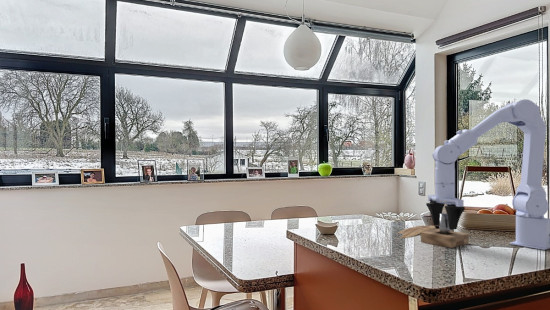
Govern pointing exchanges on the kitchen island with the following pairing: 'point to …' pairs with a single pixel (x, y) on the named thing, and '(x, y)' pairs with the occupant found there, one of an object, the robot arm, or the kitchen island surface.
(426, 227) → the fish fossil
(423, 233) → the walnut hole block
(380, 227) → the kitchen island surface
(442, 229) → the steel peg
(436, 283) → the kitchen island surface
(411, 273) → the kitchen island surface
